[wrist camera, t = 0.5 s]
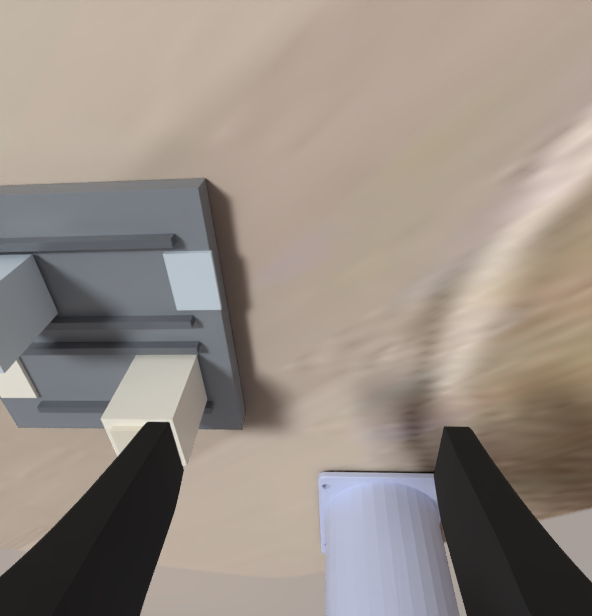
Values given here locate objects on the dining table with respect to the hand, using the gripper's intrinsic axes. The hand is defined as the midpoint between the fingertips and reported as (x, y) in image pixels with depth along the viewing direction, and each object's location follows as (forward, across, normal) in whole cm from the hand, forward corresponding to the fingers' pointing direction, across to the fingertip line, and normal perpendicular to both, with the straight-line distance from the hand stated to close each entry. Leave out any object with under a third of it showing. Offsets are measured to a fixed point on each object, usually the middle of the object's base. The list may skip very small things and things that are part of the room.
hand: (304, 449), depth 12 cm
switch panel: (+10, +11, +2) cm, 14 cm away
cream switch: (+8, +7, +5) cm, 12 cm away
